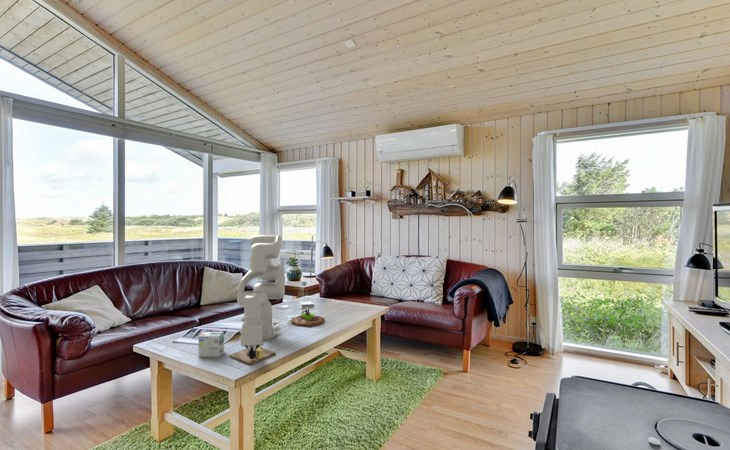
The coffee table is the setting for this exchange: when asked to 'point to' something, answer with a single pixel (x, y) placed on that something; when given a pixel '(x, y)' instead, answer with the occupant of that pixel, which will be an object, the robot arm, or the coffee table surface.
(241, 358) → the wooden cheese board
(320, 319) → the plant
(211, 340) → the light bulb box
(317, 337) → the coffee table surface
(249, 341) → the robot arm
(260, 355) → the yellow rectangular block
